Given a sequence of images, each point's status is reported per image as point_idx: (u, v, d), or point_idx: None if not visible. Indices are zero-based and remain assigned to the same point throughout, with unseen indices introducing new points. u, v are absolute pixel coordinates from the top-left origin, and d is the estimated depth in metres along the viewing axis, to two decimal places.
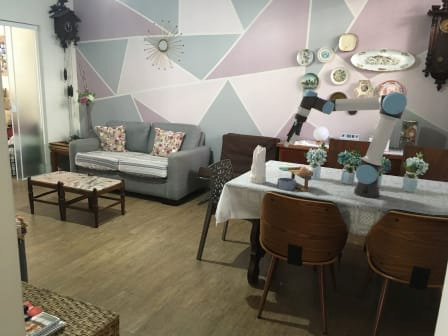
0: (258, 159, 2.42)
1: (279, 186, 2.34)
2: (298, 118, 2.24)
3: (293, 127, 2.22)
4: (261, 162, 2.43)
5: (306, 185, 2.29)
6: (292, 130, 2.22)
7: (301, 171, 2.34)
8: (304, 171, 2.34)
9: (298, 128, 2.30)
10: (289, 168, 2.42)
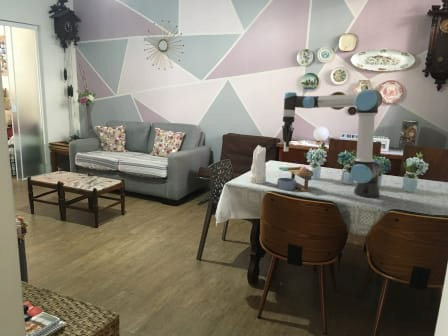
0: (258, 159, 2.42)
1: (279, 186, 2.34)
2: (290, 120, 2.36)
3: (290, 133, 2.36)
4: (261, 162, 2.43)
5: (306, 185, 2.29)
6: (290, 135, 2.37)
7: (301, 171, 2.34)
8: (304, 171, 2.34)
9: (288, 129, 2.42)
10: (289, 168, 2.42)
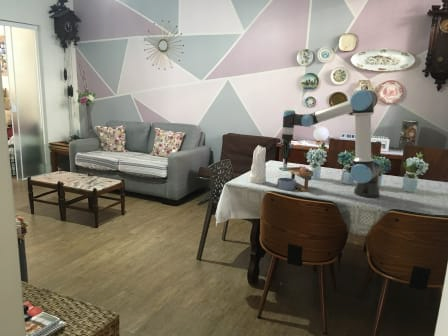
0: (258, 159, 2.42)
1: (279, 186, 2.34)
2: (289, 138, 2.38)
3: (289, 150, 2.39)
4: (261, 162, 2.43)
5: (306, 185, 2.29)
6: (289, 153, 2.40)
7: (301, 171, 2.34)
8: (304, 171, 2.34)
9: None
10: (289, 168, 2.42)
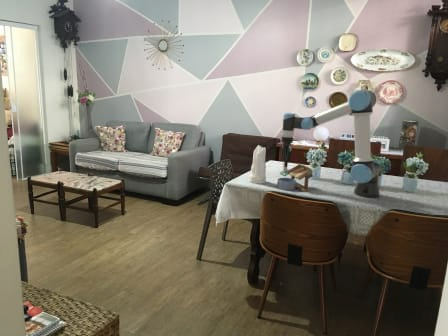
0: (258, 159, 2.42)
1: (279, 186, 2.34)
2: (289, 141, 2.39)
3: (289, 153, 2.39)
4: (261, 162, 2.43)
5: (306, 185, 2.29)
6: (289, 156, 2.40)
7: None
8: None
9: None
10: (289, 171, 2.43)
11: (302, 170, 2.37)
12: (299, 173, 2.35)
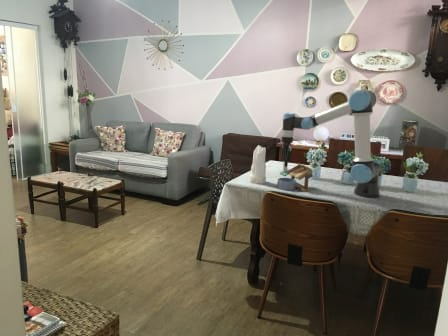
0: (258, 159, 2.42)
1: (279, 186, 2.34)
2: (289, 141, 2.39)
3: (289, 153, 2.39)
4: (261, 162, 2.43)
5: (306, 185, 2.29)
6: (289, 156, 2.40)
7: None
8: None
9: None
10: (289, 171, 2.43)
11: (302, 170, 2.37)
12: (299, 173, 2.35)
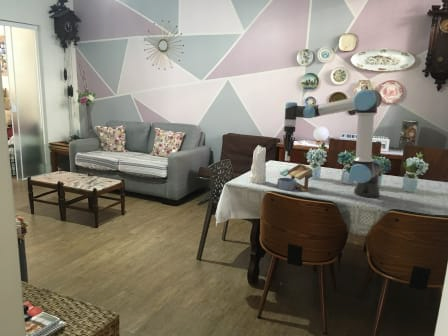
0: (258, 159, 2.42)
1: (279, 186, 2.34)
2: (291, 130, 2.38)
3: (292, 142, 2.38)
4: (261, 162, 2.43)
5: (306, 185, 2.29)
6: (292, 145, 2.39)
7: None
8: None
9: None
10: (289, 171, 2.43)
11: (302, 170, 2.37)
12: (299, 173, 2.35)
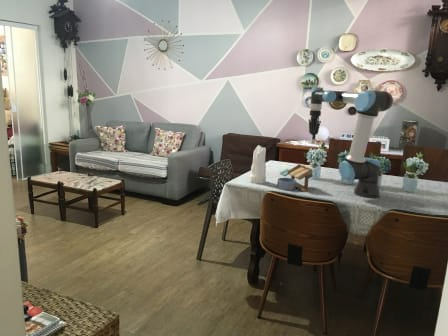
0: (258, 159, 2.42)
1: (279, 186, 2.34)
2: (317, 114, 2.48)
3: (317, 126, 2.48)
4: (261, 162, 2.43)
5: (306, 185, 2.29)
6: (317, 128, 2.49)
7: None
8: None
9: None
10: (289, 171, 2.43)
11: (302, 170, 2.37)
12: (299, 173, 2.35)
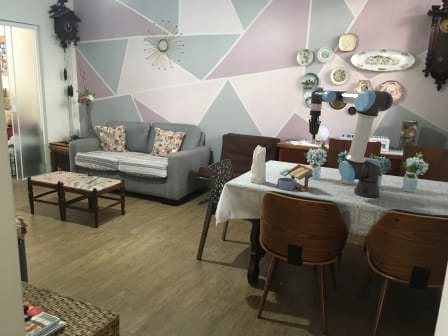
0: (258, 159, 2.42)
1: (279, 186, 2.34)
2: (317, 114, 2.48)
3: (317, 126, 2.48)
4: (261, 162, 2.43)
5: (306, 185, 2.29)
6: (317, 128, 2.49)
7: None
8: None
9: None
10: (289, 171, 2.43)
11: (302, 170, 2.37)
12: (299, 173, 2.35)
